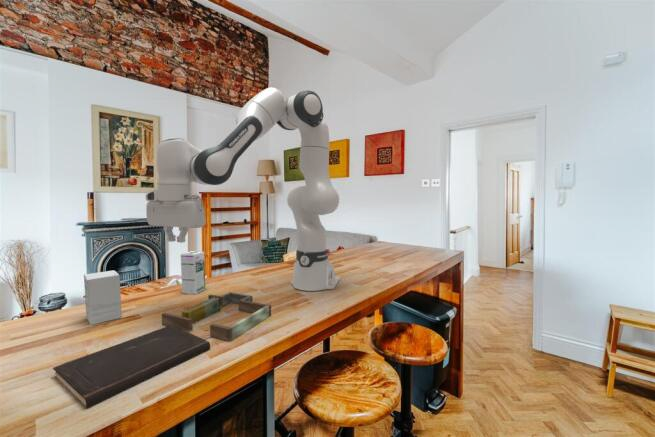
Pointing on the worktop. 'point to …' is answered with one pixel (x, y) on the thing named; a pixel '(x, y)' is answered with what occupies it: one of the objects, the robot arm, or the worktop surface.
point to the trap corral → (226, 332)
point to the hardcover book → (128, 363)
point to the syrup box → (193, 272)
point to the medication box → (202, 310)
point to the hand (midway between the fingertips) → (176, 241)
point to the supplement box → (102, 296)
